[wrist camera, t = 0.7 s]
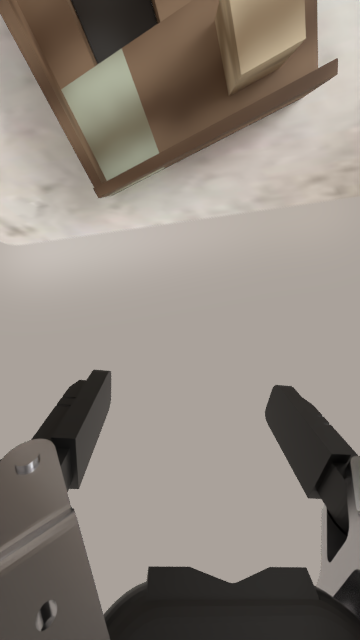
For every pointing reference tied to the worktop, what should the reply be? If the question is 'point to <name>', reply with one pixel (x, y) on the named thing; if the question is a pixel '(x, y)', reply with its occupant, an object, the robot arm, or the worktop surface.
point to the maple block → (257, 37)
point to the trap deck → (147, 80)
